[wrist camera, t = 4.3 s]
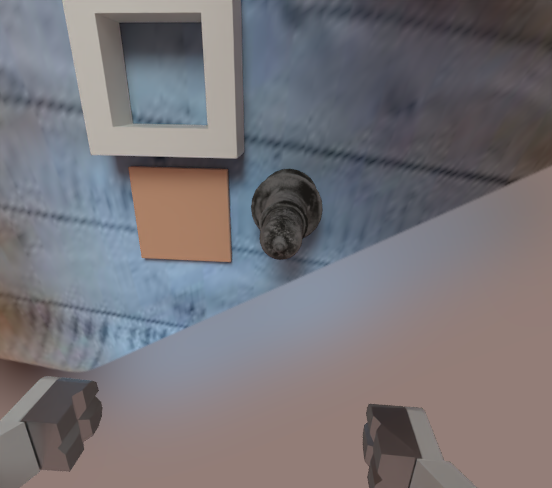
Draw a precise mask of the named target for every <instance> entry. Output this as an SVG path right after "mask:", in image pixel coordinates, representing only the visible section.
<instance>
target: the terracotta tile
mask: <svg viewBox="0 0 552 488" xmlns="http://www.w3.org/2000/svg"><path fill="white" fill-rule="evenodd" d="M128 168H129V175H130V182H131V188H132V195H133V202H134V209H135V215H136V222H137V229H138V236H139V242H140V249H141V256H142V258H155V259H176V260H197V261H218V262H231V260H232V249H231V224H230V200H229V175H228V169H218V168H182V167H146V166H130V167H128Z"/></svg>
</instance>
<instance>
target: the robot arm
mask: <svg viewBox="0 0 552 488" xmlns="http://www.w3.org/2000/svg"><path fill="white" fill-rule="evenodd" d="M98 391H99V390H98V387H97V383H96V382H94V381H89V380H80V379H71V378H59V377H50V376H45V377H43V378H41V379H40V380H39V381H38V382H37V383H36V384H35V385H34V386H33V387H32V388H31V389H30V390H29V391H28V392H27V393H26V394H25V395H24V397H22V398H21V400H20V401H19V402H18V403H17V404H16V405H15V406H14V407H13V408H12V409H11V410H10V411H9V412H8V413H7V414H6V415H5V416H4V417H3V418H2V419H1V420H0V488H20V487H21V486H22V485H23V484H25V483H26V482H27V481H29V480H30V479H31V478H32V477H33V476H35V475H36V474H37V473H39V472H40V470H54V471H69V472H70V470H71V469H72V467H73V466H74V464H75V463H76V461H77V460H78V458H79V457H80V455H81V454H82V452H83V450H84V444H83V442H84V441H86V440H87V439H89V438H90V437H92V436H93V435H94V433H95V431H96V430H97V428H98V426H99V423H100V420H101V417H102V404H101V401H100V400H99V399H98V398H97V397H96V396H95V395H96V394H97V392H98ZM366 416H367V421H368V422H367V423H366V424H365V425H364V431H363V451H364V459H365V462H366V463H367V464H368V466H369V472H368V477H367V478H368V484H369V488H477V487H476V486H475V485H474V484H473V483H472V482H471V481H470V480H469V479H468V478H467V477H466V476H465V475H463V474H462V473H461V472H460V471H459V470H458V469H457V468H456V467H455V466H454V465H453V464H452V463H451V462H448V461H444V459H443V456H442V453H441V451H440V448H439V446H438V443H437V441H436V438H435V435H434V433H433V430H432V428H431V425H430V423H429V420H428V418H427V415H426V412H425V411H424V410H423V408H417V407H403V406H390V405H389V406H388V405H377V404H369V405H368V407H367V412H366Z"/></svg>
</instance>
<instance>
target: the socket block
mask: <svg viewBox="0 0 552 488" xmlns="http://www.w3.org/2000/svg"><path fill="white" fill-rule="evenodd" d="M62 2H63V7H64V12H65V18H66V23H67V28H68V34H69V39H70V44H71V50H72V55H73V61H74V66H75V71H76V77H77V82H78V87H79V93H80V98H81V103H82V109H83V114H84V120H85V125H86V130H87V136H88V141H89V146H90V152H91V155H119V156H158V157H197V158H236V159H237V158H238V157H239V156H241V155H242V154H243V153H244V111H243V67H242V22H241V0H62ZM163 22H202V39H203V55H204V72H205V89H206V105H207V122H208V125H175V124H133V120H132V113H131V106H130V98H129V91H128V84H127V77H126V69H125V62H124V55H123V47H122V40H121V33H120V25H119V23H163Z"/></svg>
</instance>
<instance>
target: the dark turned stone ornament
mask: <svg viewBox="0 0 552 488" xmlns="http://www.w3.org/2000/svg"><path fill="white" fill-rule="evenodd" d="M251 210H252V217H253V219H254V221H255V224H256V225H257V227H258V228H259V229H260V231H261V232H260V244H261V246H262V249H263V250H264V252H265V253H266V254H267V255H269V256H270V257H272V258H274V259H279V260H281V259H287V258H290V257H292V256H293V255H295V254H296V253H297V251H298V250H299V249H300V247H301V244H302V239H303V238H305V237H306V236H308V235H310V234H311V233H312V232H313V231H314V230H315V228H316V227H317V225H318V224H319V222H320V220H321V215H322V200H321V197H320V195H319V192H318V191H317V189H316V187H315V184H314V183H313V181H312V180H311V178H309V177H308V176H307V175H306V174H305V173H303V172H300V171H298V170H294V169H282V170H279V171H277V172H274V173H273V174H272V175H270V176H269V177H268V178H267V179H266V180H265V181H264V182H262V183H261V184H260V186H259V187H258V188H257V189H256V191H255V194H254V196H253V198H252V205H251Z"/></svg>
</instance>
